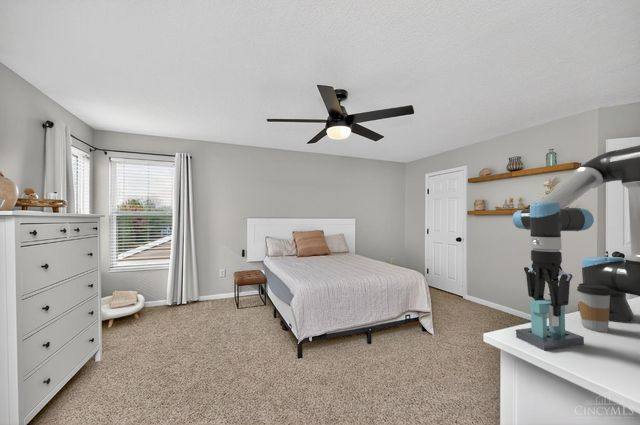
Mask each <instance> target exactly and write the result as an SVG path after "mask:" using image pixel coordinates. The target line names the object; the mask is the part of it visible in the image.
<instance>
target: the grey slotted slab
mask: <svg viewBox="0 0 640 425" xmlns="http://www.w3.org/2000/svg"><path fill="white" fill-rule="evenodd" d="M515 335H516V336H515V338H517V339H519V340H521V341H523V342H525V343H528V344H530V345H532V346H534V347H536V348H538V349H540V350H543V351H544V352H546V351H551V349H552V350H558V349H565V348H573V347H582V346H585V336H582V335H580V334H577V333H573V332H572V331H569V330H566V329H565V336H561V335H558V334H556V333H553V332H551V331H549V325H547V338H542V337H540V336H537V335H535V334H533V333H532V329H531V327H530V328H529V327H526V328H518V329H515Z"/></svg>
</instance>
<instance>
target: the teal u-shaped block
mask: <svg viewBox="0 0 640 425" xmlns="http://www.w3.org/2000/svg"><path fill="white" fill-rule="evenodd" d="M550 304H551V298H550V299H545V300H538V301H535V300H530V301H529V311H530V322H531V325H530V326H531V327H530V328H531V329H532V333H533V334H535V335H537V336H540V337H542V338H547V326H549V325H548V316H547V314H549V305H550ZM565 312H566V305H564V306H561V316H559V326H554V327H551V326H549V331H551V332H553V333H556V334H558V335H561V336H565V330H566V319H565V318H566V316H565V314H566V313H565Z"/></svg>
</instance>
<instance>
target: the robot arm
mask: <svg viewBox="0 0 640 425" xmlns="http://www.w3.org/2000/svg"><path fill="white" fill-rule="evenodd" d="M615 181H617V182H618V181H621V186H624V187H625V188H627V191H628V192H627V193H628V211H629V213H628V214H629V231H630V236H629V237H630V251H631V253H630V255H628V256H626V257H625V258H624V257H621V256H620V257H619V256H594V257H585V258H583V259H582V261H581V262H582V263H581V273H582V283H588V284H597V285H602V286H606V287H608V289H609V290H610V293H611V295H610V304H609V305H610V311H609V322H610V321H611V322H619V323H621V322H622V323H628V322H629V323H630V322H634V320H635V317H634V316H635V315H634V312H633V310H632V308H631V306H630V304H629V302H628V300H627V297H626V296H627V295H626V294H628V295H633V296H639V297H640V145H635V146H630V147H626V148H621V149H615V150H610V151H607V152H604V153H601V154H599V155H597V156H595V157H593V158H591V159H590V160H588V161H586V162H585V163H583V164H582V165H580V166H579V167H577V168H576V169H574V171H573V172H572V175H571V176H570V177H568V178H567V179H565V180H564V182H562V183H561V184H559V185H558V186H557V187H556V188H554V189H553V190H551V191H550V192H549V193H548V194H546V195H545V196H544V197H542V198H541V199H540V200H538V201H537V202H532V203H530V205H529V208H528V209H522V210H521V209H520V210H519V209H518V210H517V211H515V212H514V213H513V215H512V219H511V220H512V224H513V225H514V226H515V228H517V229H520V230H527V231H529V230H530V234H529V236H530V248H531V250H530V261H532V264H531V266H525V267H523V271H524V273H525V277H526V283H527V286H526V287H527V293H528V296H529V298H533V301H538V300H546V298H544V297H545V291H546V290H545V287H546V284H547V286H548V287H547V288H548V291H549V296H550V297H549V298H550V299H551V304H550V305H549V313H548V326H551V327H554V326H559V316H561V306H564V305H565V306H569V302H570V300H569V299H570V283H571V281H572V279H573V274H572V273H567V272H565V271H563V268H562V266H561V264H562V262H563V255H562V252H561V250H562V232H580V231H586V230H589V229H590V228H591V227H592V226H593V224H594V216H593V214H592V212H591V211H590V210H588V209H585V208H578V207H572V208H569V206H570V205H571V204H573V203H574V202H575V201H576V200H578V199H579V198H580V197H582V196H583V195H584V194H586V193H587V192H589V191H590V190H592V189H596V188H598V187H600V186H601V185H603V184H606V183H609V182H615ZM577 311H578V312H579V311H580V307H579V303H577Z"/></svg>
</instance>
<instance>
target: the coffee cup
mask: <svg viewBox="0 0 640 425" xmlns="http://www.w3.org/2000/svg"><path fill="white" fill-rule="evenodd" d="M576 288H577V289H576V291H577V296H578V304H579V307H580V312H579V313H580V320H581V325H582V326H583V328H584V329H586V330H589V331H591V332H597V333H607V332H608V331H609V322H610V320H609V311H610V305H609V304H610V295H611V293H610V290H609V289H608V287H606V286H602V285H597V284H588V283H583V282H581V283H578V286H577V287H576Z"/></svg>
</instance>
